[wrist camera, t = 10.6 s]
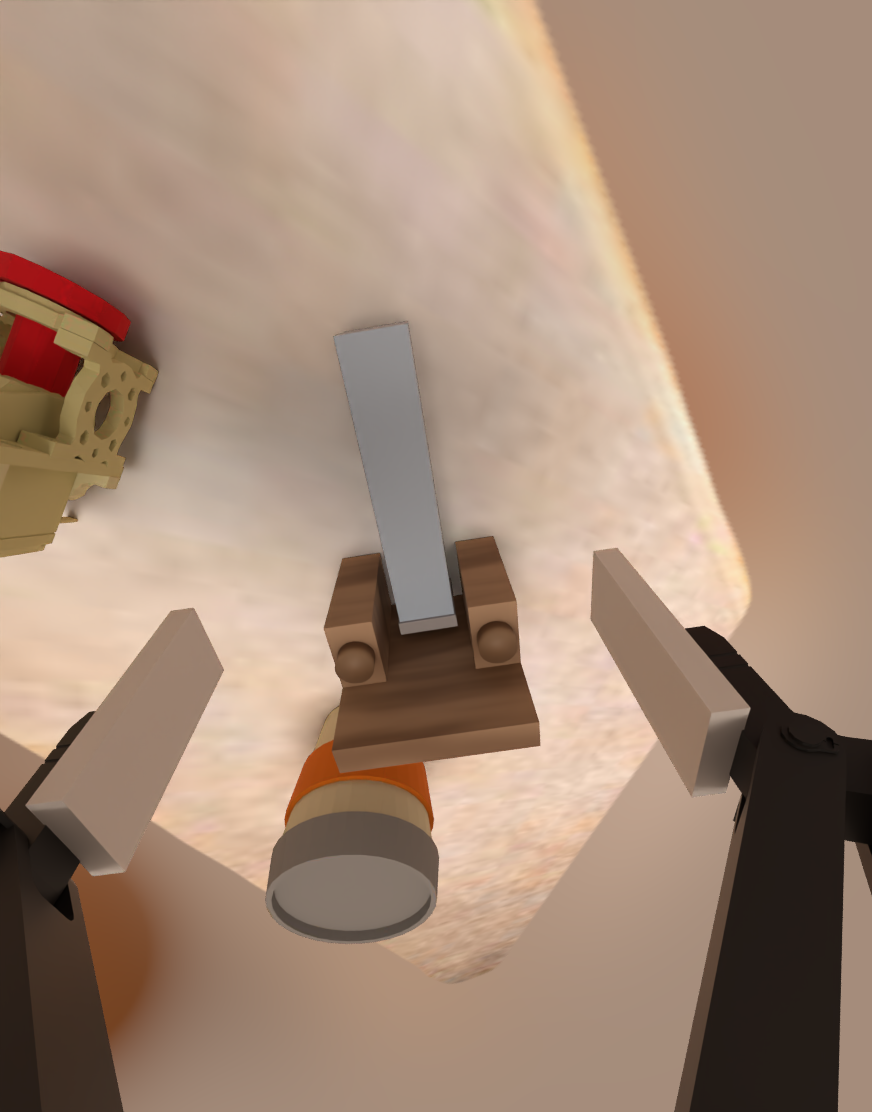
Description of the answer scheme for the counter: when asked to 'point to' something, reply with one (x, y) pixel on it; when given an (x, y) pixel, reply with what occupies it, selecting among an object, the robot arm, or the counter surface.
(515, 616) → the wooden bracket with knobs
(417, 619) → the rail
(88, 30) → the counter surface
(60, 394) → the mechanical component
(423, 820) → the reusable coffee cup
